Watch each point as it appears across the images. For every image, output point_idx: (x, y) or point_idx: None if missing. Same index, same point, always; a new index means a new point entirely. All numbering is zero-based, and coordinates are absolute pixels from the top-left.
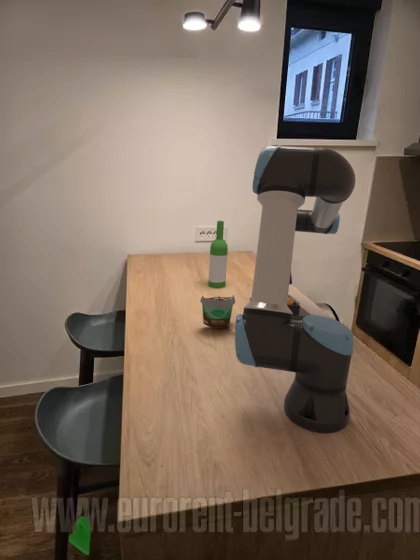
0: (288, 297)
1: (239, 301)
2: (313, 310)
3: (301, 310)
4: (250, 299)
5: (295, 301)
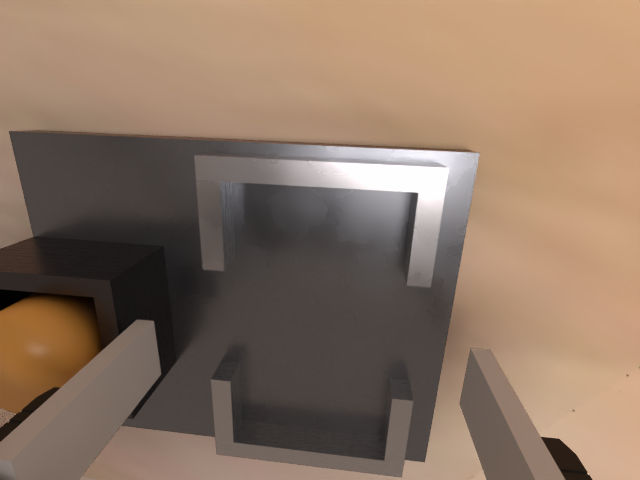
0: (47, 389)
1: (485, 39)
2: (224, 476)
3: (152, 407)
4: (457, 150)
5: (247, 442)
